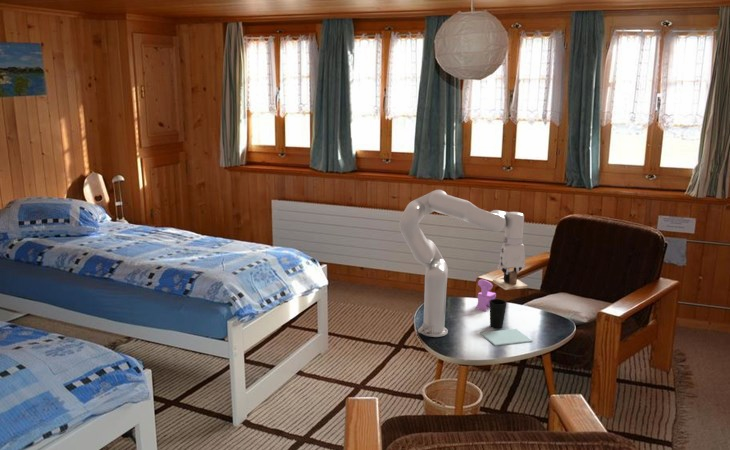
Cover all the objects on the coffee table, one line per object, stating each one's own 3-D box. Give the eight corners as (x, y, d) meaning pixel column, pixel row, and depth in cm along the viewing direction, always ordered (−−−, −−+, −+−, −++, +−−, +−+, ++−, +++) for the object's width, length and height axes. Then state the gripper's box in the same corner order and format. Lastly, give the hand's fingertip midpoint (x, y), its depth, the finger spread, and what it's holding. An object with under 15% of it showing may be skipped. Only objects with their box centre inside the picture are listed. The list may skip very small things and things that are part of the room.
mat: (495, 345, 279) (495, 344, 279) (480, 333, 292) (480, 332, 292) (532, 341, 285) (532, 340, 284) (516, 330, 298) (516, 328, 298)
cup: (504, 330, 297) (506, 305, 294) (487, 328, 299) (489, 303, 296) (504, 324, 304) (506, 299, 302) (488, 322, 306) (489, 298, 303)
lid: (505, 289, 276) (506, 276, 275) (492, 281, 287) (493, 268, 285) (527, 287, 280) (529, 274, 278) (515, 280, 290) (516, 267, 288)
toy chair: (497, 307, 327) (499, 278, 324) (488, 311, 321) (490, 282, 317) (483, 303, 332) (484, 275, 329) (473, 307, 326) (475, 278, 323)
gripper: (500, 244, 273) (497, 286, 277) (534, 242, 278) (531, 283, 282) (491, 239, 280) (489, 280, 284) (525, 237, 285) (522, 278, 289)
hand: (510, 281), depth 283 cm, fingers closed on lid, 3 cm apart
